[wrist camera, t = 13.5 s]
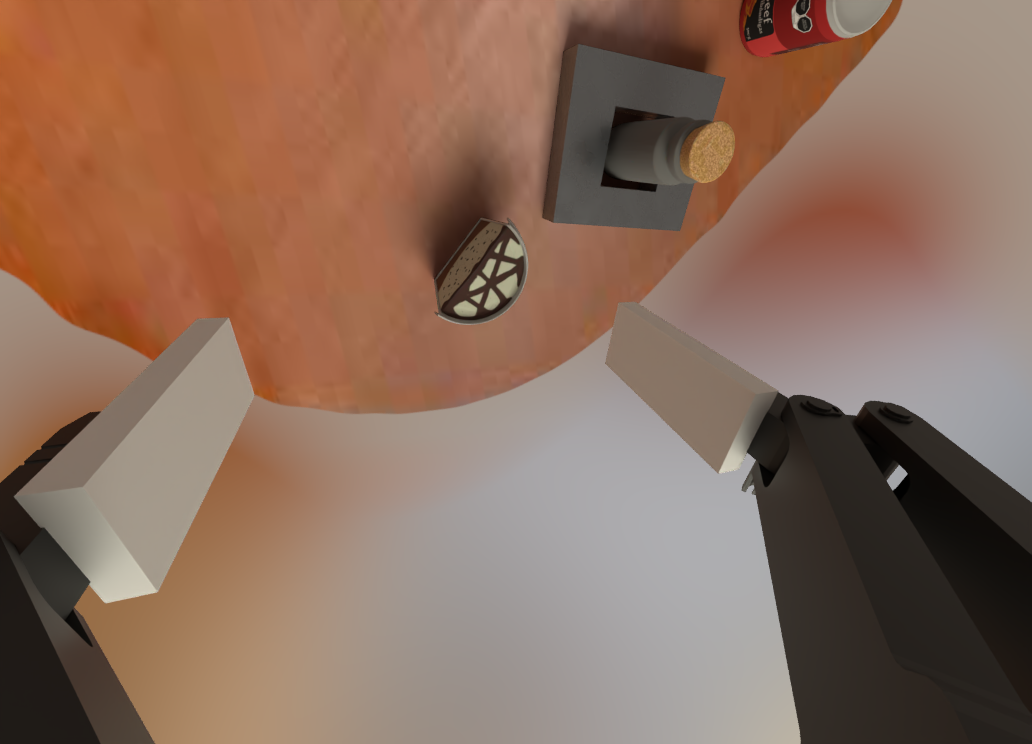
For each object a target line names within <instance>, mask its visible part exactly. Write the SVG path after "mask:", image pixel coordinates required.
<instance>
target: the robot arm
mask: <svg viewBox="0 0 1032 744" xmlns="http://www.w3.org/2000/svg"><path fill="white" fill-rule="evenodd" d="M605 364H606V365H607V366H608V367H609V368H610V369H611V370H612V371H614V372H615V373H616V374H617V375H618V376H619V377H620V378H621V379H622V380H623V381H624V382H625V383H626V384H627V385H628V386H629V387H630V388H631V389H632V390H633V391H634V392H635V393H636V394H637V395H638V396H639V397H640V398H641V399H642V400H643V401H644V402H645V403H646V404H647V405H648V406H649V407H650V408H652V409H653V410H654V411H655V412H656V413H657V414H658V415H659V416H660V417H661V418H662V419H663V420H664V421H665V422H666V423H667V424H668V425H669V426H670V427H671V428H672V429H673V430H674V431H675V432H676V433H677V434H678V435H679V436H680V437H681V438H682V439H683V440H684V441H685V442H686V443H687V444H688V445H689V446H690V447H691V448H692V449H693V450H695V452H697V453H698V454H699V455H700V456H701V457H702V458H703V459H704V460H705V461H706V462H707V463H708V464H709V465H710V466H711V467H712V468H713V469H714V470H715V471H716V472H717V473H723V472H728V471H733V470H738V469H739V468H740V466H741V464H742V462H743V460H744V458H745V456H746V454H747V453H748V454H750V455H751V456H752V457H753V458H754V459H756V461H755V463H754V465H753V467H752V469H751V471H750V473H749V474H748V476H747V478H746V480H745V482H744V484H743V486H742V491H744V492H746V490H747V489H748V487H749V486H751V485H754V490H753V492H752V494H754V495H756V499H757V504H758V509H759V514H760V520H761V525H762V531H763V536H764V541H765V547H766V552H767V557H768V563H769V568H770V573H771V579H772V584H773V589H774V595H775V600H776V606H777V610H778V616H779V622H780V627H781V632H782V638H783V643H784V648H785V654H786V659H787V664H788V670H789V675H790V681H791V686H792V691H793V696H794V702H795V707H796V713H797V718H798V723H799V729H800V737H801V744H1032V502H1030V501H1029V500H1028V499H1026V498H1025V497H1024V496H1022V495H1021V494H1020V493H1019V492H1017V491H1016V490H1015V489H1013V488H1012V487H1011V486H1009V485H1008V484H1007V483H1006V482H1004V481H1003V480H1002V479H1000V478H999V477H998V476H996V475H995V474H994V473H993V472H991V471H990V470H989V469H987V468H986V467H985V466H983V465H982V464H981V463H979V462H978V461H977V460H975V459H974V458H973V457H971V456H970V455H969V454H968V453H966V452H965V451H964V450H962V449H961V448H960V447H958V446H957V445H956V444H955V443H953V442H952V441H951V440H949V439H948V438H947V437H945V436H944V435H943V434H942V433H940V432H939V431H937V430H936V429H935V428H934V427H932V426H931V425H930V424H928V423H927V422H926V421H924V420H923V419H922V418H920V417H919V416H917V415H916V414H914V413H912V412H910V411H909V410H907V409H905V408H904V407H902V406H899V405H895V404H892V403H884V402H880V401H869V402H866V403H865V404H864V405H863V407H862V409H861V410H860V412H859V413H858V415H857V416H853V415H845V414H844V413H843V412H842V411H841V410H840V409H839V408H838V407H836V406H834V405H832V404H830V403H828V402H825V401H824V400H821V399H817V398H814V397H811V396H805V395H793V396H792V397H790V398H789V399H788V398H787V397H785V396H783V395H782V394H780V393H779V392H778V390H776V389H775V388H773V387H771V386H770V385H768V384H767V383H765V382H763V381H762V380H760V379H758V378H757V377H755V376H754V375H752V374H750V373H749V372H747V371H746V370H744V369H742V368H741V367H739V366H738V365H736V364H734V363H733V362H731V361H730V360H728V359H726V358H725V357H723V356H721V355H720V354H718V353H717V352H715V351H713V350H712V349H710V348H709V347H707V346H705V345H704V344H702V343H701V342H699V341H697V340H696V339H694V338H693V337H691V336H689V335H688V334H686V333H684V332H683V331H681V330H680V329H678V328H676V327H675V326H673V325H671V324H670V323H668V322H667V321H665V320H663V319H662V318H660V317H659V316H657V315H655V314H654V313H652V312H651V311H649V310H647V309H646V308H644V307H643V306H641V305H639V304H638V303H636V302H621V303H618V308H617V312H616V317H615V321H614V326H613V331H612V335H611V340H610V344H609V349H608V353H607V358H606V362H605ZM254 396H255V395H254V392H253V389H252V386H251V383H250V380H249V377H248V374H247V371H246V368H245V365H244V362H243V359H242V356H241V353H240V350H239V347H238V344H237V341H236V338H235V335H234V332H233V329H232V326H231V323H230V320H229V318H205V319H197V320H196V321H195V322H194V323H193V324H192V325H190V326H189V327H188V328H187V329H186V330H185V331H184V332H183V333H182V334H181V335H180V336H179V337H178V338H177V339H176V340H175V341H174V342H173V343H172V344H171V345H170V346H169V347H168V348H167V349H166V350H165V351H164V352H163V353H162V354H161V355H159V356H158V357H157V358H156V359H155V360H154V361H153V362H152V363H151V364H150V365H149V366H148V367H147V368H146V369H145V370H144V371H143V372H142V373H141V374H140V375H139V376H138V377H137V378H136V379H135V380H134V381H133V382H132V383H131V384H130V385H128V386H127V387H126V388H125V389H124V390H123V391H122V392H121V393H120V394H119V395H118V396H117V397H116V398H115V399H114V400H113V401H112V402H111V403H110V404H109V405H108V406H107V407H106V408H105V409H104V410H103V411H101V412H90V413H88V414H86V415H84V416H83V417H81V418H79V419H77V420H75V421H74V422H72V423H70V424H68V425H67V426H65V427H63V428H61V429H60V430H59V431H58V432H57V433H55V434H54V435H53V436H52V437H51V438H50V439H49V440H48V441H46V442H45V443H44V444H43V445H42V446H41V448H42V449H41V450H37V451H35V452H34V453H33V454H32V455H31V456H30V457H29V458H28V459H27V460H25V461H24V463H25V464H24V465H21V466H19V467H18V468H16V469H15V470H14V471H13V472H12V473H11V474H10V475H9V476H7V477H6V478H5V479H4V480H3V481H2V482H1V483H0V744H155V743H154V741H153V740H152V738H151V736H150V734H149V732H148V731H147V729H146V727H145V726H144V724H143V722H142V720H141V718H140V717H139V715H138V713H137V711H136V709H135V708H134V706H133V704H132V702H131V701H130V699H129V697H128V695H127V694H126V692H125V690H124V688H123V686H122V685H121V683H120V681H119V680H118V678H117V676H116V674H115V673H114V671H113V669H112V667H111V665H110V664H109V662H108V660H107V658H106V657H105V655H104V653H103V651H102V649H101V648H100V646H99V644H98V643H97V641H96V639H95V637H94V635H93V634H92V632H91V630H90V628H89V626H88V625H87V623H86V621H85V619H84V618H83V616H82V615H81V614H80V613H79V612H78V611H77V610H76V609H75V608H74V606H75V605H76V603H77V602H78V600H79V599H80V597H81V596H82V594H83V593H84V591H85V590H86V588H87V587H88V585H90V586H91V587H92V588H93V590H94V591H95V592H96V593H97V594H98V595H99V597H100V598H101V599H102V600H103V601H104V602H105V603H109V602H113V601H118V600H123V599H128V598H133V597H137V596H142V595H147V594H152V593H156V592H158V591H159V589H160V587H161V584H162V582H163V580H164V578H165V576H166V574H167V572H168V570H169V568H170V566H171V564H172V562H173V560H174V558H175V556H176V554H177V552H178V550H179V548H180V546H181V544H182V542H183V540H184V538H185V536H186V534H187V532H188V530H189V528H190V526H191V524H192V522H193V520H194V518H195V516H196V513H197V511H198V509H199V507H200V505H201V503H202V501H203V499H204V497H205V495H206V493H207V491H208V489H209V487H210V485H211V483H212V481H213V479H214V477H215V475H216V473H217V471H218V469H219V467H220V465H221V463H222V461H223V459H224V457H225V455H226V452H227V451H228V448H229V447H230V445H231V443H232V441H233V438H234V437H235V434H236V432H237V430H238V428H239V426H240V424H241V422H242V420H243V418H244V416H245V414H246V412H247V410H248V408H249V406H250V404H251V402H252V400H253V398H254ZM898 465H900V466H901V467H902V468H903V469H904V470H905V471H906V472H907V473H908V474H907V476H906V477H905V478H904V479H903V480H902V482H901V483H900V484H899V485H898V487H897V488H896V489H894V490H893V491H892V489H891V488H890V486H889V484H888V483H887V481H886V480H887V479H888V478H889V477H890V475H891V474H892V473H893V472H894V470H895V469H896V468H897V467H898Z"/></svg>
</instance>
